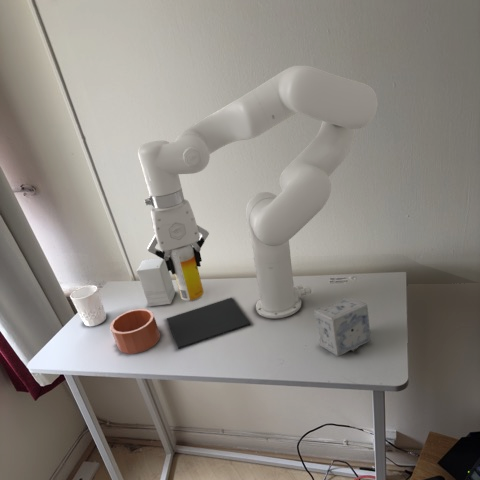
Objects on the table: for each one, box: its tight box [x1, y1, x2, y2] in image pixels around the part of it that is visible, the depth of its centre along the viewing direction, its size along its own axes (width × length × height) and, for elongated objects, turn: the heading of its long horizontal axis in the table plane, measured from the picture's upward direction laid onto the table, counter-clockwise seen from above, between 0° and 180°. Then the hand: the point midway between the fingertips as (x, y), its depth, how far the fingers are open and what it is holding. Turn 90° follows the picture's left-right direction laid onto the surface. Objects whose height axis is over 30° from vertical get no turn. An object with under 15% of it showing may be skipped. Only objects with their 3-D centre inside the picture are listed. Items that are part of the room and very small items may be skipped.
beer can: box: [169, 244, 204, 303], centre depth 107 cm, size 6×6×15 cm
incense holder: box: [314, 296, 372, 357], centre depth 96 cm, size 10×8×10 cm
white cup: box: [69, 284, 107, 327], centre depth 125 cm, size 8×8×10 cm
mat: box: [166, 297, 251, 350], centre depth 116 cm, size 20×16×1 cm
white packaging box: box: [136, 257, 176, 307], centre depth 129 cm, size 7×7×13 cm
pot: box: [109, 308, 161, 355], centre depth 113 cm, size 12×12×6 cm
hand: (185, 267), depth 107 cm, fingers closed on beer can, 6 cm apart
